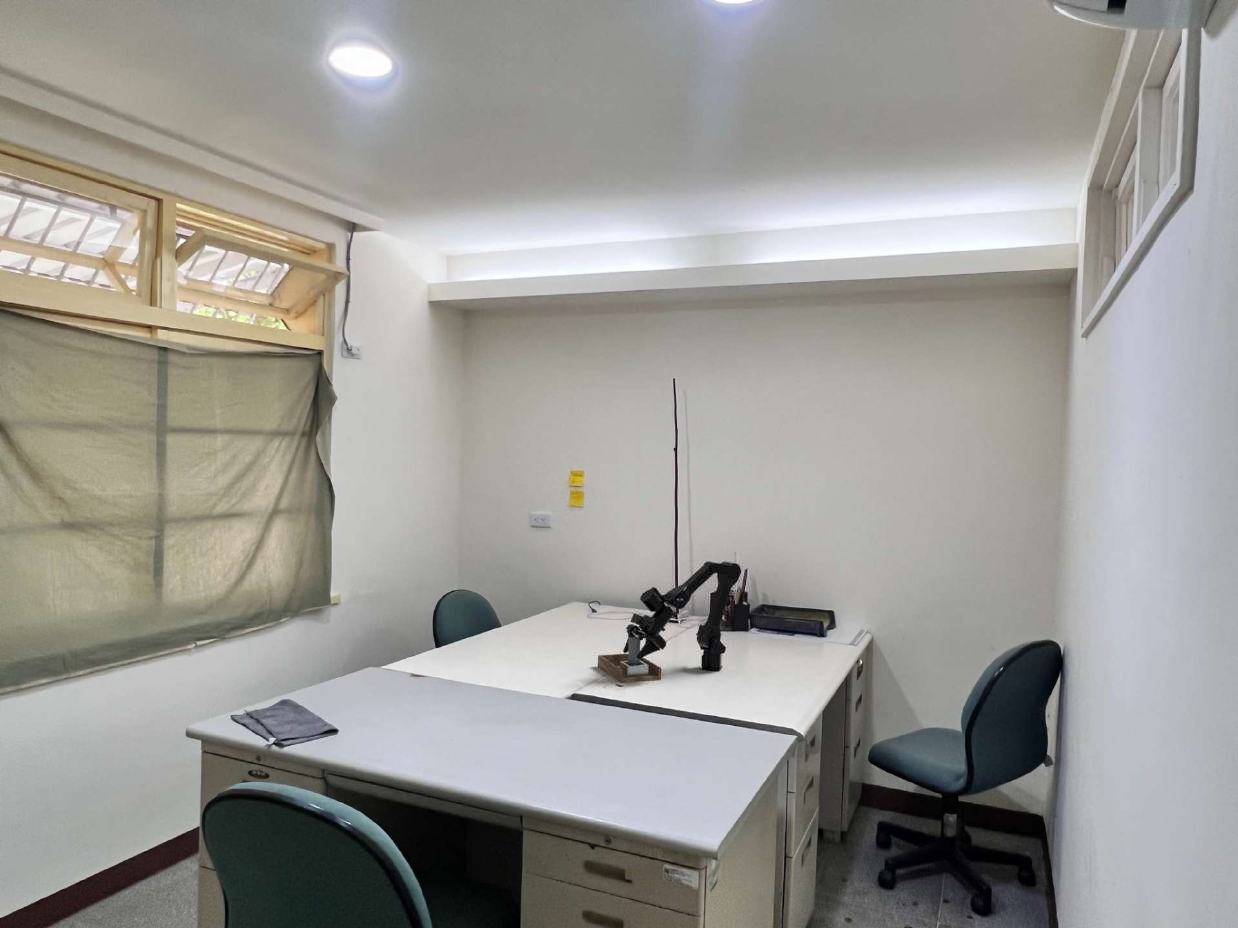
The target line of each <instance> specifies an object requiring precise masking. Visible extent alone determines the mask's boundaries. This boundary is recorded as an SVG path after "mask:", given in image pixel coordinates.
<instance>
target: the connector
mask: <svg viewBox="0 0 1238 928" xmlns="http://www.w3.org/2000/svg"><path fill="white" fill-rule="evenodd" d="M640 642H641V641H640V638H638V637H630V638H629V645H628V652H627V653H628V665H629V666H632V665H640V659H638V658H637V655H638V654H639V652H640V651H641V643H640Z"/></svg>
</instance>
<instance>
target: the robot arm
mask: <svg viewBox="0 0 1238 928" xmlns="http://www.w3.org/2000/svg"><path fill="white" fill-rule="evenodd" d="M741 573H742V568H741V566H740V565H739V563H737V562H736V563H735V562H731V561H722V562H721V563H719V562H715V561H714V562H713V561H706V562H704V563H703V565H702V566H701V567H700V568H698V570H696V571H695V572H694V573H693V574H692V575H691V576H690V577H688V579H687V580H686V581H685V582H683V583H682V584H680V585H678V586H675V587H673V588H672V589H670V590H668V591H667V592H666V593H664V594H661V592H659V589H658V588H657V587H654V586H652V587H651V588H650V589H647V590H646V591H644V592H643V593H642V594H641V595H640V597H639V600H640V602H641V603H642V604H643V605H644V606H645V607H646V608H647V610H649V612H650V613H653V614H652V615H651V616H649V615H647V614H643V615H640V614H637V613H633V615H632V617H631V619H630V623H632V624H628V625H627V626H626V627H625V630H626V633H627V638H626V639H627V640H626V642H625V645H624V647H623V650H622V652H623V654H627V653H628V645H629V638H630V637H638V638H640V644H641V641H642V640H644V639H645V643H644V645H643V646H642V647H641V648H640V652H639V654H638V655H637V658H638V659H640V658H642V657H644V658H645V657H646V656H648V655H650V654H651V655H652V654H653V653H656V652H658V651H660V650H664V649H665V648H666V647H667V641H666V640H665V638H663V637H662V635H661V634H660V633H661V632H663V633H664V632H665V631H666V628H665V627H666V626H667V624H668V623H669V622H670V620H671V619H673V620H679V616H678V611H676V610H673V609H677V610H682V609H684V608H685V607H686V606H687V604H688V603H689V602H690V600H691V598H692V595H693V594H694V593H695V592H696V591H697V590H698V589H699V588H700V587H701V586H703V585H704V584H705V583H706V582H707V581H708V580H709V579H710V578H712V576H713V575H715V574H716V579H717V587H716V590H715V594H714V596H713V600H712V603H711V607H710V610H709V613H708V617H707V620H706V622H705V623H704V624H699V626H698V630H697V632H696V634H695V636H696V641H697V644H698V645H699V648H700V650H701V651H702V652H703V653H702V654H701V670H705V671H715V672H720V671H721V669H722V668H723V665H722V659H723V658H722V657H723V656H722V654H725V652H726V649H727V647H726V646H725V645H724V643H723V642H722V641H721V638H722V631H721V623H722V619H723V616H724V612H725V611H726V610H725V609H726V606H727V604H728V600H729V596H730V593H731V590H732V588H733V587H734V586H735V585H736V583H737V582H738V581H739V578H740V577H741ZM672 608H673V609H672Z"/></svg>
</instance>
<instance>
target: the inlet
mask: <svg viewBox="0 0 1238 928" xmlns="http://www.w3.org/2000/svg"><path fill="white" fill-rule="evenodd" d="M620 669H622V670H623V677H624V678H629V677H642V676H648V665H647V664H646V663H644V662H642V661H641V660H640V665H632V666H629V665H628V661H620Z"/></svg>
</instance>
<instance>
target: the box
mask: <svg viewBox="0 0 1238 928" xmlns="http://www.w3.org/2000/svg"><path fill="white" fill-rule="evenodd" d="M640 660H641V661H642V662H644V663H646V664H647V665H648V676H642V677H629V678H624V677H623V670H622V669H620V661H628V652H627V653H619V654H618V653H616V654H612V653H611V654H598V655H597V668H598V669H600V670H602V671H603V672H605V673H606V674H607V675H609V676H610V677H612V678H613V679H614V680H615V681H617V682H619V683H620V684H623V683H636V682H648V681H661V680H662V667H661V666H659V665H658V664H656V663H653V662H652V661H651V660H648V658H645V656H644V657H642V658H640Z"/></svg>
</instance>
